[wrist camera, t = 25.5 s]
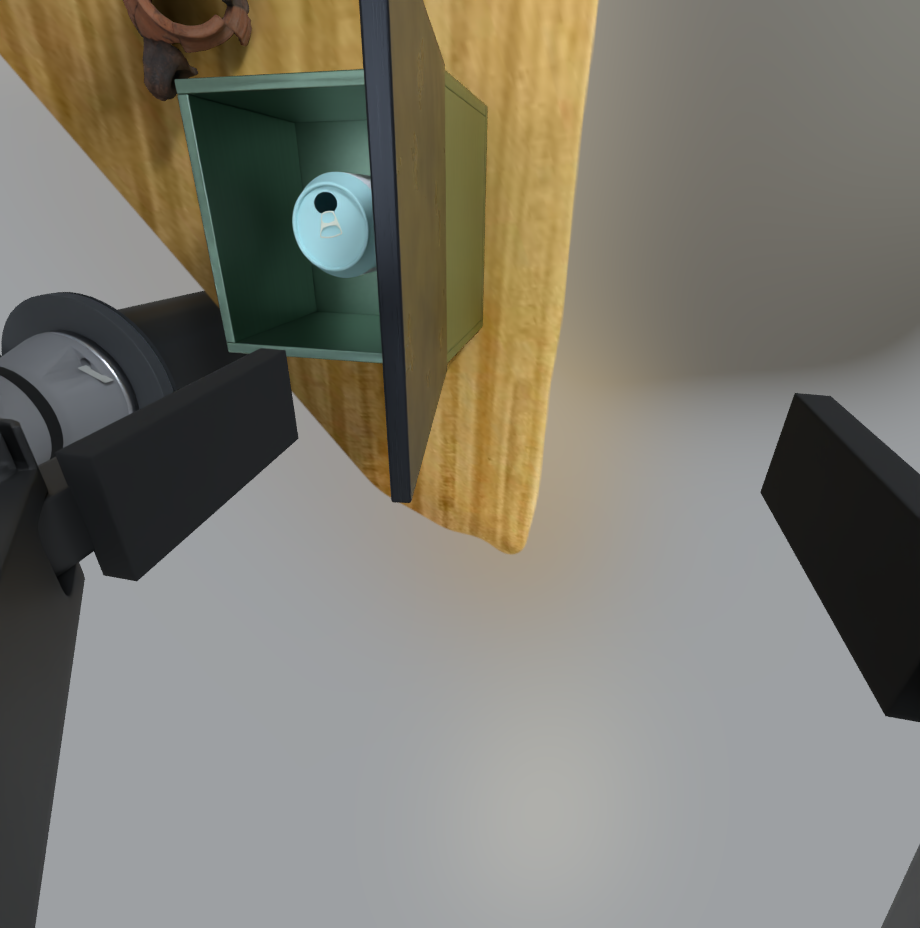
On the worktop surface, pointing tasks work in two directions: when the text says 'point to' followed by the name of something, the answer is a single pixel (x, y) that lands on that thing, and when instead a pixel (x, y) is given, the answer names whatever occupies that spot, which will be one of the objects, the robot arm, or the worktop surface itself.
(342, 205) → the can
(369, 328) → the green open box
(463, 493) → the worktop surface
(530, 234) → the worktop surface
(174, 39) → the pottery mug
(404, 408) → the box lid
